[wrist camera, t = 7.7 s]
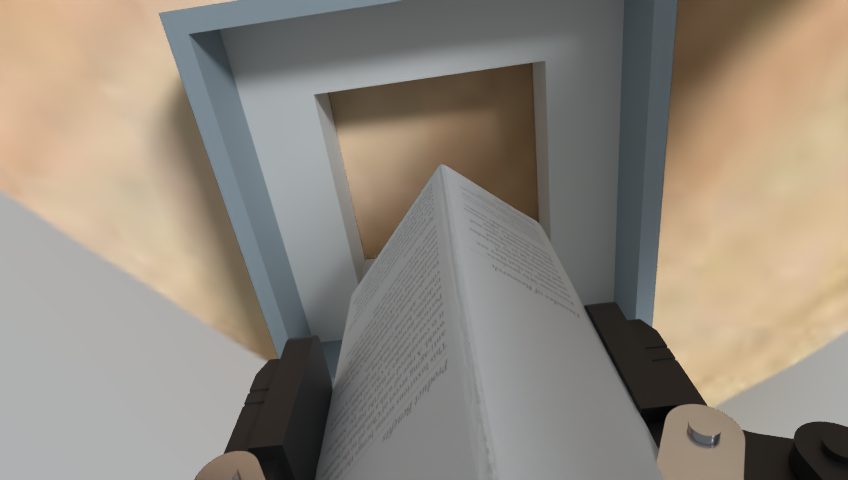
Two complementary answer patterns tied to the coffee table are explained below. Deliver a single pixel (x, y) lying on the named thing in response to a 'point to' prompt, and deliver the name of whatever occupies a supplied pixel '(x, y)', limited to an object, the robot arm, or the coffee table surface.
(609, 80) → the bore box
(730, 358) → the coffee table surface
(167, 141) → the coffee table surface
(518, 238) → the skincare box
